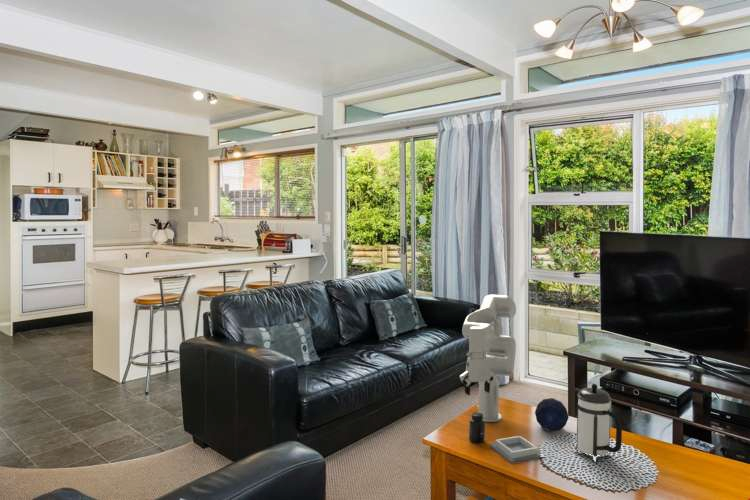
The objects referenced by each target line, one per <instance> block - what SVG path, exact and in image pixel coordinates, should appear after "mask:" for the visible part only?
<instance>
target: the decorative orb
mask: <svg viewBox="0 0 750 500" xmlns="http://www.w3.org/2000/svg"><path fill="white" fill-rule="evenodd" d="M565 406H566V405H564V404H563V402H562V401H560V400H558V399H556V398H553V397H551V398H544V399H542V400H541V401H539V403H538V404H537V406H536V408H535V410H534V414H535V418H536V422H537V423H538V425H539V426H540V427H541V428H542V429H544V430H546V431H549V432H560V431H561V430H562V429H563V428H564V427H565V426H566V425H567V423H568V420H569V418H570V417H569V412H568V410H567V407H565Z"/></svg>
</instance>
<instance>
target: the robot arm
mask: <svg viewBox="0 0 750 500" xmlns="http://www.w3.org/2000/svg"><path fill="white" fill-rule="evenodd" d="M516 312H517V306H516V302H515V300H514V299H513V298H512V297H511V296H509V295H507V294H504V295H503V294H488V295H485V296H484V297H483V299H482V300H481V304H480V307H479V309H476V310H474V312H471V313H469V314H467V316H466V317H465V319H464V321H463V324H462V329H461V333H462V336H463V337H464V338H465V339H468V340H469V341H468V349H469V350H468V352H466V357H467V359H466V365H465V371H464V372H463V373H462V374H460V375H459V379H460V382H461V383H462V384H463V385H464V394H466V395H467V396H471V386H470V385H471V384H472V383H478V404H477V405H476V408H477V409H478V411H477V412H478V413H482V414H483V419H482V420H484V422H485V423H496V422H499V421H501V420H502V418H503V417H502V414H501V413H499V407H500V406H499V403H500V402H499V397H500V395H499V389H500V383H499V380H498V378H497V376H503V377H504V376H507V377H510V376H512V375H513V373H514V371H515V370H514V369H515V362H516V361H515V360H516V353H517V352H516V349H517V343H516V340H515V338H514V337H513V336H511V335H503V325H502V324H501V322H500V321H499V320H498V319H497V318H506V319H507V318H508V319H509V318H510V319H511V318H514V316H516V314H517V313H516ZM496 375H497V376H496Z"/></svg>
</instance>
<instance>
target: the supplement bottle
mask: <svg viewBox="0 0 750 500" xmlns="http://www.w3.org/2000/svg"><path fill="white" fill-rule="evenodd" d="M482 419H483V414H482V413H478V411H476V412H474V411H473V412H472V413H471V418H470V419H469V423H468V424H469V425H468V426H469V427H468V440H469V442H471V443H473V444H483V443H485V440H486V439H485V437H486V435H485V434H486V422H485V421H484V420H482Z"/></svg>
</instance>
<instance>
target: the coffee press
mask: <svg viewBox="0 0 750 500" xmlns="http://www.w3.org/2000/svg"><path fill="white" fill-rule="evenodd" d="M577 398H578V402H577V413H576V414H577V417H576V419H577V420H576V421H577V422H576V446H575V447H576V449H578V450H580V451H582V452H585V453H587V454H591V455H594V456H597V455H600V456H602V455H606V454H608V455H609V453H610V452H611V453H617V452H619V451H620V450H621V448H622V439H623V438H622V435H623V434H622V432H623V428H622V421H621V418H620V416H619V415H617V413H616V412H614V411H611V403H612V397H611V396H610V394H609V393H608V391H605V390H604V389H602V388H598V385H597V384H596V383H592V384H591V387H584V388H581V389H580V390H579V392H578V393H577ZM611 418H612V419H613V420H614V422H615V425H616V427H615V428H616V429H615V446H613V447H612V446H611V444H610V443H611V442H610V441H611ZM582 452H581V453H582ZM608 452H609V453H608ZM606 456H607V455H606Z"/></svg>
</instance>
